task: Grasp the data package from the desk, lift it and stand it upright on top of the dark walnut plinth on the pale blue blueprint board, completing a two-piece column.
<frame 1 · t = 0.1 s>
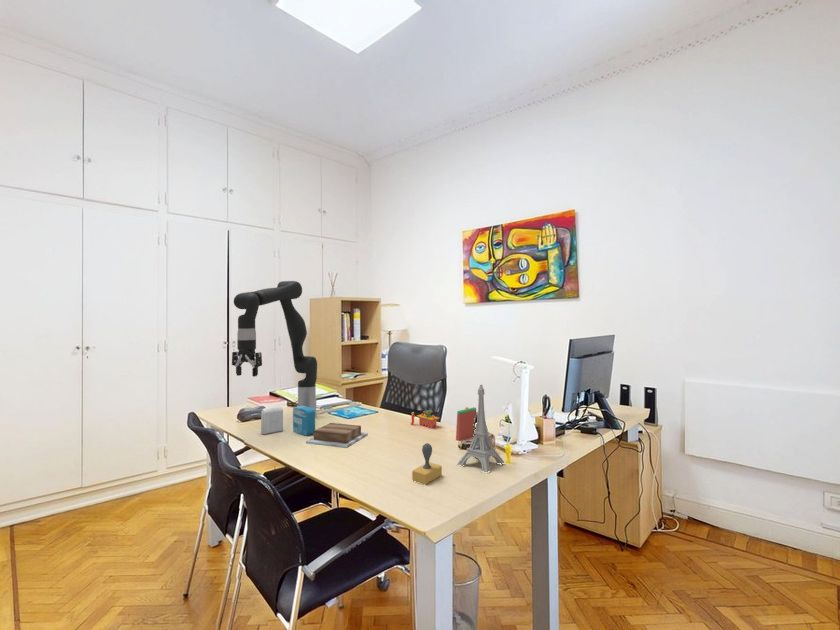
hand: (246, 375, 182), 29 cm above the table, fingers open, 8 cm apart
eiffel tower: (481, 465, 156), on the table
data package: (304, 433, 197), on the table
rubber stamp: (427, 479, 143), on the table
photo printer: (272, 432, 198), on the table
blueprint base: (337, 438, 187), on the table
toy building block set: (441, 430, 201), on the table
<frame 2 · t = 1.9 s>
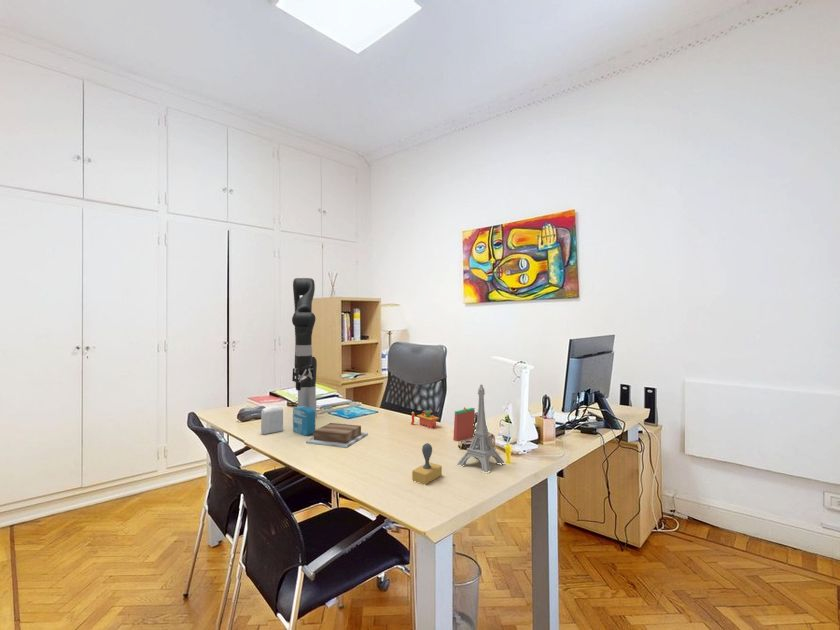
hand: (303, 388, 197), 21 cm above the table, fingers open, 8 cm apart
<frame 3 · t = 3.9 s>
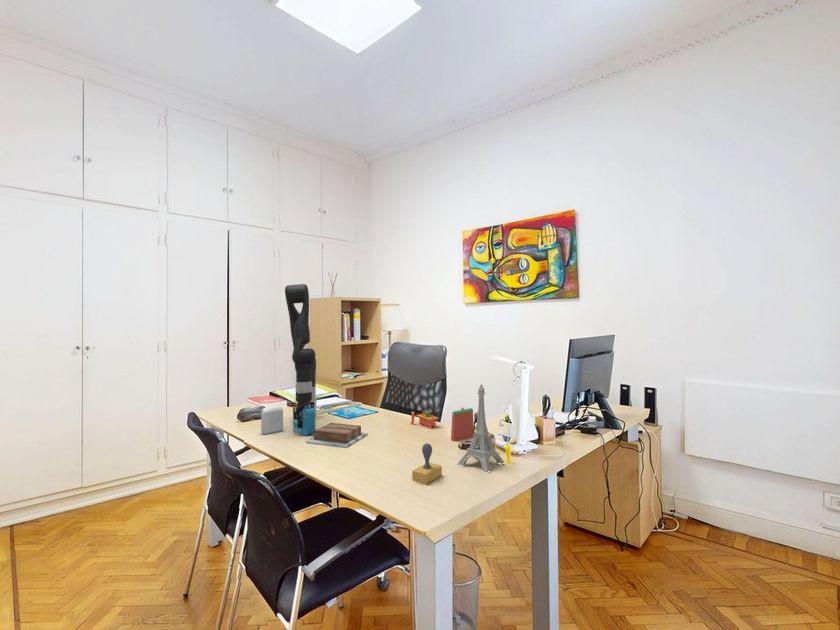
hand: (303, 426, 197), 3 cm above the table, fingers closed on data package, 5 cm apart
data package: (304, 433, 197), on the table, touching gripper
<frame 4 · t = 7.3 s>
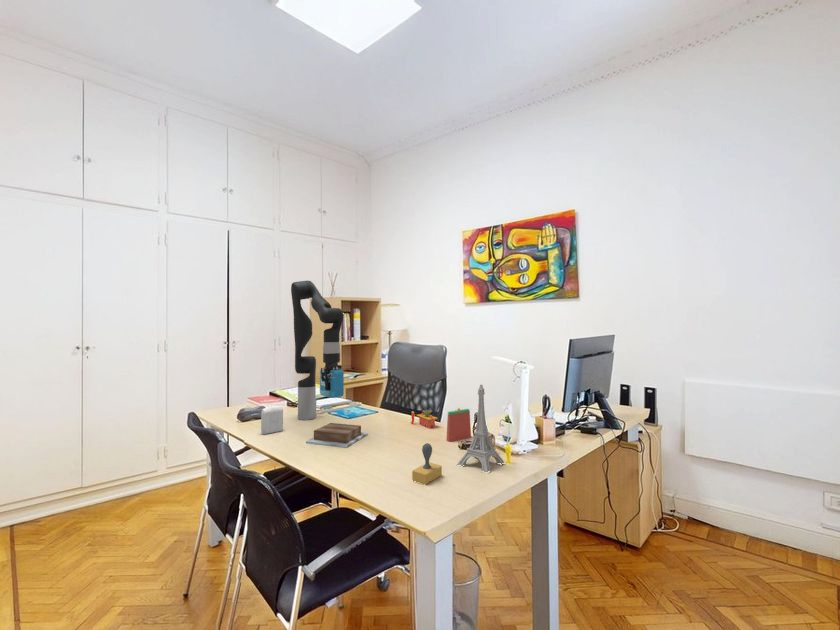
hand: (331, 389, 188), 22 cm above the table, fingers closed on data package, 5 cm apart
data package: (331, 396, 188), point 19 cm above the table, touching gripper
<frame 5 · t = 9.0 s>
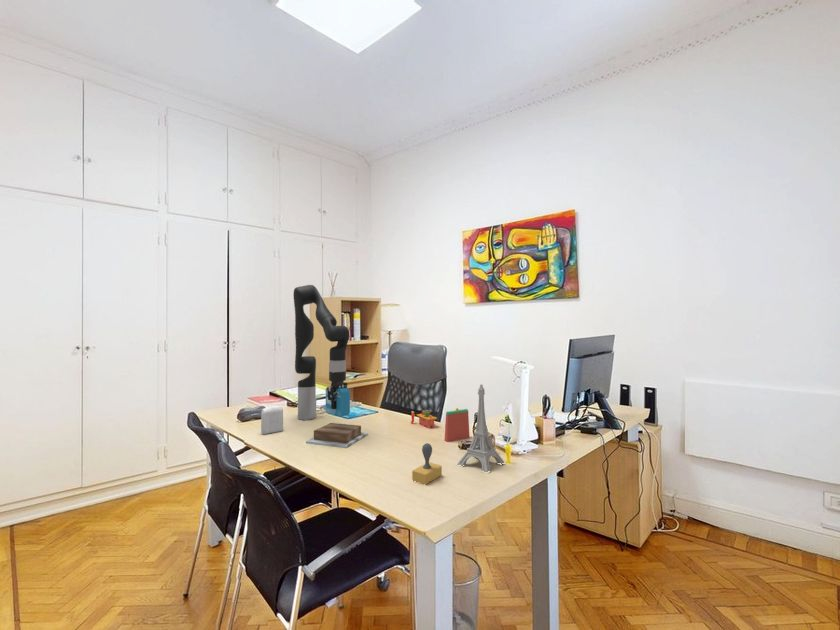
hand: (337, 407, 187), 14 cm above the table, fingers closed on data package, 5 cm apart
data package: (337, 414, 187), point 11 cm above the table, touching gripper
when the fingers open (9 cm above the table, at t = 10.5 s): data package stays where it is, resting on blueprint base.
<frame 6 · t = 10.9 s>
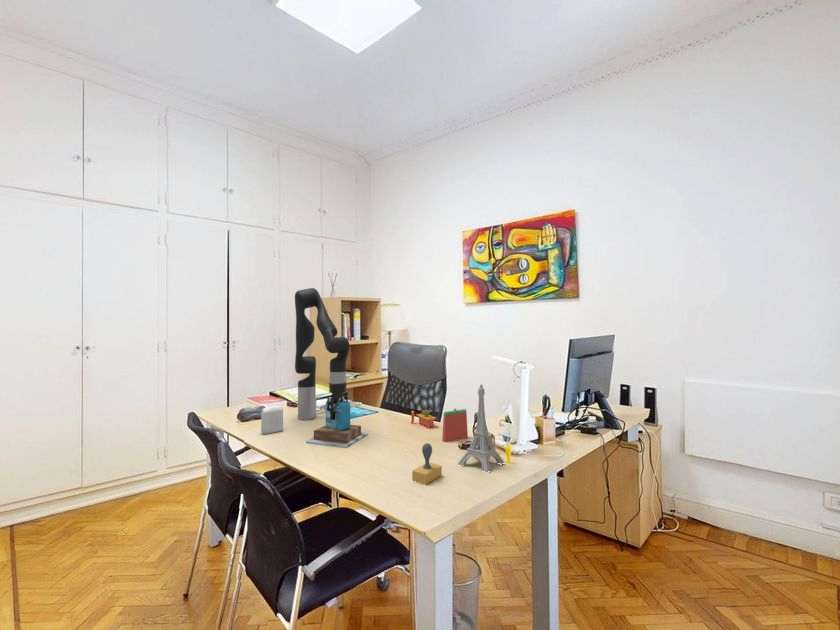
hand: (337, 417, 187), 10 cm above the table, fingers open, 8 cm apart
data package: (337, 428, 187), point 5 cm above the table, touching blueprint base
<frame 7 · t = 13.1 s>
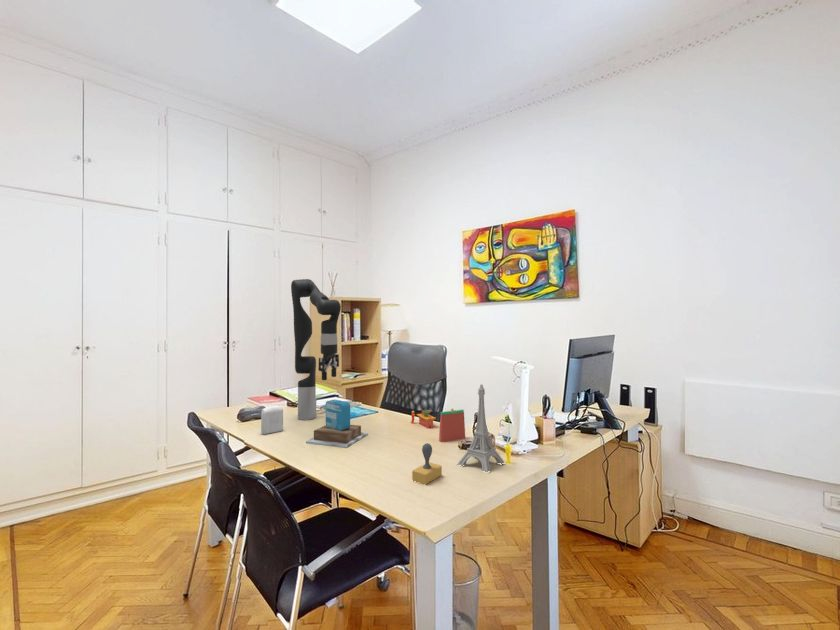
hand: (329, 378, 191), 27 cm above the table, fingers open, 8 cm apart
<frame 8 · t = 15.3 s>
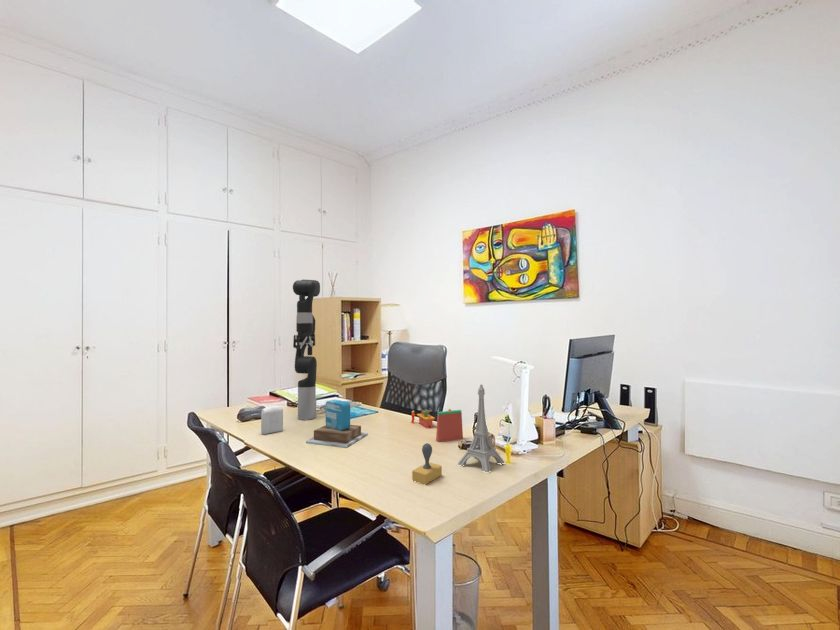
hand: (304, 356, 199), 36 cm above the table, fingers open, 8 cm apart
at the end: data package inside the target area on the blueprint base (0.1 cm from its centre), point 4.6 cm above the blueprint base's base; data package tilted 0°; the gripper is holding nothing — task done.
